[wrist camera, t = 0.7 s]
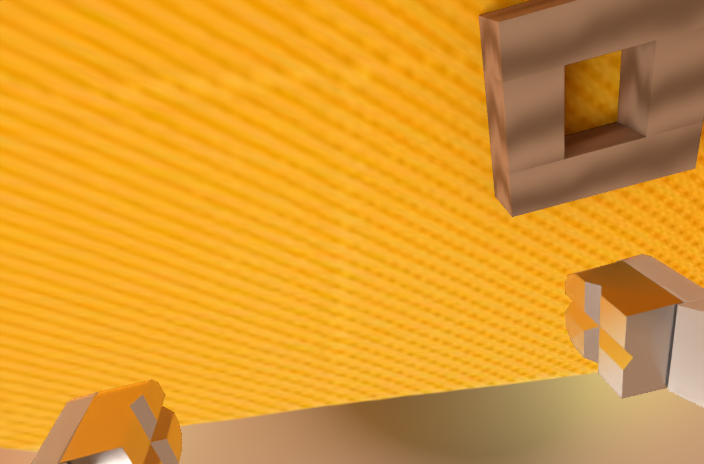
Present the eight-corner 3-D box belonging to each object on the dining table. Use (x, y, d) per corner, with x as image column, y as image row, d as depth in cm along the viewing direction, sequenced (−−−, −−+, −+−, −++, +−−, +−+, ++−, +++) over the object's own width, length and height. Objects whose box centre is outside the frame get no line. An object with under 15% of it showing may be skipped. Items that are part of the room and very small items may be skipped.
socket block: (478, 15, 44) (498, 22, 40) (687, -44, 43) (730, -44, 39) (495, 196, 54) (512, 217, 50) (663, 151, 54) (695, 168, 49)
